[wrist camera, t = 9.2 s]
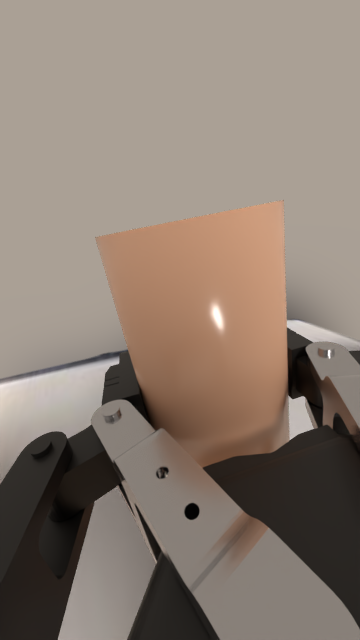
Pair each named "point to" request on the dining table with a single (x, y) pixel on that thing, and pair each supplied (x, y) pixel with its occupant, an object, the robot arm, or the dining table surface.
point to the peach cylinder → (207, 327)
